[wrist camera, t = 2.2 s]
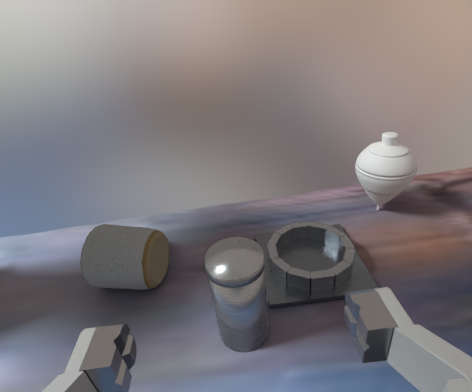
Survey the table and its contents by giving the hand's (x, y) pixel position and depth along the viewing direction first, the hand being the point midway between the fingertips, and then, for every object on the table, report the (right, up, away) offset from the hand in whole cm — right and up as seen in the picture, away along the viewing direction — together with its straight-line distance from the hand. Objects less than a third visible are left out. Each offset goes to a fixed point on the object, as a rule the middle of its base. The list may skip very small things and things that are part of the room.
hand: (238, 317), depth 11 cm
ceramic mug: (-13, -6, +29) cm, 32 cm away
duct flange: (+9, -4, +27) cm, 28 cm away
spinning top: (+21, +2, +35) cm, 41 cm away
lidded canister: (+1, -9, +20) cm, 22 cm away
